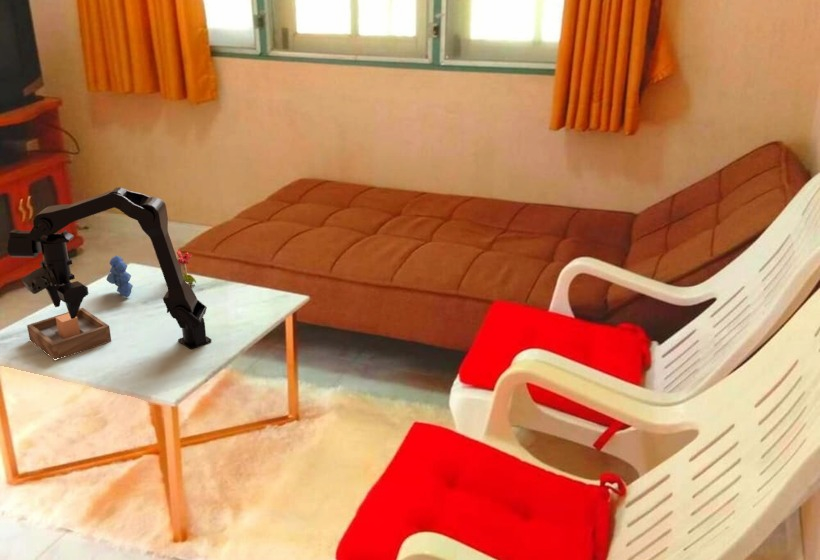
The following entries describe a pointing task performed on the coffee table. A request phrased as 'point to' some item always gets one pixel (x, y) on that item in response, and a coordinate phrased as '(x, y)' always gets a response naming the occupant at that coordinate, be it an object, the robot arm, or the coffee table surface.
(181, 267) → the bird rattle
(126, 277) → the grapes
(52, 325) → the socket box
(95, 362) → the coffee table surface
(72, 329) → the peg
